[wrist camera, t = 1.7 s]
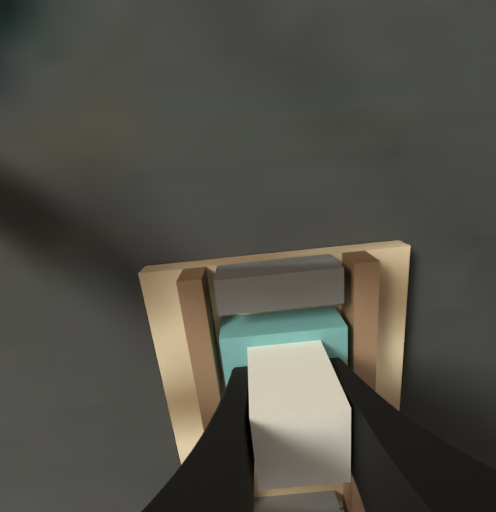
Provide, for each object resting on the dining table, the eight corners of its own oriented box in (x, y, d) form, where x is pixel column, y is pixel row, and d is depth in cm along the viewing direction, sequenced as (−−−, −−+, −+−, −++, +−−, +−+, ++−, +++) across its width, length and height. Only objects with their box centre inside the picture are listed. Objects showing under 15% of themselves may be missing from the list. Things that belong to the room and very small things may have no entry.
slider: (335, 377, 15) (383, 489, 10) (231, 388, 15) (226, 504, 10) (334, 306, 14) (389, 390, 8) (221, 317, 14) (210, 407, 9)
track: (385, 485, 19) (409, 539, 16) (196, 502, 19) (188, 559, 16) (398, 240, 14) (436, 258, 11) (145, 265, 14) (122, 289, 11)
